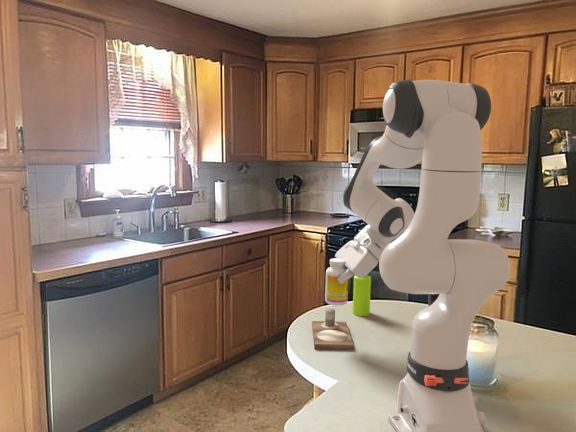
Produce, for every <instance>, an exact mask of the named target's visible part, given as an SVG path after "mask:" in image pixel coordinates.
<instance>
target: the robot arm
mask: <svg viewBox="0 0 576 432" xmlns="http://www.w3.org/2000/svg"><path fill="white" fill-rule="evenodd" d="M382 102H383V103H382V116H383V120H384V123H385V124H386V126H385V129H384V132H383V135H379V136H377V137H375V138H374V139H372V141H371V142H370V143H369V144H368V145H367V148H365V151H364V153H363V154H362V157H361V159H360V161H359V164H358V165H357V168H356V170H355V172H354V173H353V175H352V178H351V180H350V182H349V183H348V184H347V185H346V187H345V189H344V192H343V195H342V199H343V205H344V207H345V208H347V209H348V210H349V211H351V212H352V213H354V214H355V215H356V216H357V217H359V219H360V220H362V221H363V222H364V223H365V224H367V225H365V226H364V227H363V228H362V229H361V230H360V231H359V232H358V233H357V234H356V235H355V236H354V237H353V239H354V240H349V241H348V242H347V243H345V244H344V245H343V246H342V247H340V248H339V250H337V252H336V253H335V255H334V258H340V259H344V260H345V264H344V265H345V268H346V269H347V270H346V272H345V273H343V274H342V275H339V277H337V281H338V282H339V283H340V284H342V283H343V282H344V281H345V280H347V279H348V280H350V279H351V278H352V277H354V276H355V275H356V276H357V277H358V278H359V279H360V278H363V277H364V276H366V275H367V274H370V273H371V271H373V269H375V268H376V267H377V266H378V268H379V269H378V270H379V274H380V277H381V279H382V281H383V282H384V284H385V285H386V286H387V287H388V288H389V290H391V291H396V292H400V293H406V294H411V295H429V294H440V295H439V297H438V298H437V299H436V301H435V302H434V303H433V304H432V305H430V306H427V307H425V308H423V309H421V310H420V311H418V313H416V315H415V316H414V318H413V319H412V322H411V337H410V351H409V352H408V353H407V354H408V355H407V359H406V364H407V366H406V370H407V372H406V375H405V376H404V377H403V378H402V379H401V380H400V381H399V383H398V391H397V392H398V393H397V402H396V410H394V411H392V412H390V413H389V415H388V421H389V423H390V424H391V426H392V427H393V428H394V429H395V431H396V432H484V429H483V426H482V425H485V424H486V414H485V412H484V411H477V407H476V404H477V403H478V397H477V396H475V395H473V392H472V388H471V382H470V368H469V363H468V362H469V361H468V358H467V356H468V354H467V353H468V347H469V337H470V332H471V327H472V324H473V323H474V319H475V317H476V315H477V314H478V312H479V310H480V309H481V308H482V306H483V305H484V304H485V302H486V301H487V300H488V299H490V297H491V296H493V295H494V294H495V293H496V292H499V291H500V290H501V289H502V288H504V287H505V285H506V284H507V282H508V280H509V278H510V274H511V262H510V259H509V256H508V254H507V253H506V251H505V250H504V248H503V247H502V246H501V245H499V244H497V243H493V242H490V241H487V240H486V241H485V240H481V239H464V238H463V239H458V238H457V239H453V238H452V239H448V237H449V235H450V234H451V232H452V231H453V229H455V228H456V227H457V226H458V225H460V224H461V223H463V222H465V221H467V220H469V219H471V218H472V217H473V216H474V215H475V213H476V212H477V211H478V208H479V203H480V192H481V191H480V190H481V179H482V168H483V167H482V165H483V148H482V147H483V145H482V144H483V142H482V134H481V130H483V128H484V127H485V126H486V124H487V123H488V122H489V119H490V116H491V113H492V100H491V97H490V94H489V91H488V90H487V89H486V87H484V86H482V85H479V84H475V83H471V82H466V83H462V82H457V81H448V80H442V79H418V80H411V79H404V80H399V81H394V82H392V84H390V85H389V87H388V88H387V90H386V91H385V94H384V97H383V101H382ZM419 163H421V170H420V171H421V172H420V183H419V193H418V198H417V199H418V200H417V204H416V205H417V206H416V208H415V211H414V209H413V208H412V206H411V205H410V204H409V202H407V201H406V200H404V199H403V198H401V197H398V198H395V199H393V198H391V197H390V196H389V195H388V194H386V193H385V192H384V191H383V190H381V189H380V188H379V187H377V185H376V183H374V177H375V175H376V173H377V172H378V169H379V167H380V166H385V167H387V168H390V169H391V168H392V169H399V170H401V169H410V168H413V167H414V166H416V165H418V164H419Z"/></svg>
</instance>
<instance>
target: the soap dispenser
mask: <svg viewBox="0 0 576 432" xmlns="http://www.w3.org/2000/svg"><path fill="white" fill-rule="evenodd" d="M368 274H369V273H368ZM368 274H367V275H366V276H364V277H363V278H360V279H359V278H358V277H357V276H356V275H353V290H352V293H353V294H352V295H353V296H352V314H353V315H355V316H359V317H367V316H369V315H370V313H371V309H370V308H371V292H372V291H371V287H372V276H370V275H368Z"/></svg>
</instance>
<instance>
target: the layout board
mask: <svg viewBox="0 0 576 432" xmlns="http://www.w3.org/2000/svg"><path fill="white" fill-rule="evenodd" d="M324 317H325V319H324V320H321V321H320V320H311V327H312V329H311V330H312V338H313V339H312V340H313V346H314V347H313V348H314V350H344V351H345V350H349V351H350V350H351V351H352V350H354V342H353V339H352V336H351V334H350V330H349V327H348V324H347V321H336V309H334V308H326V309H325V316H324Z"/></svg>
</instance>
